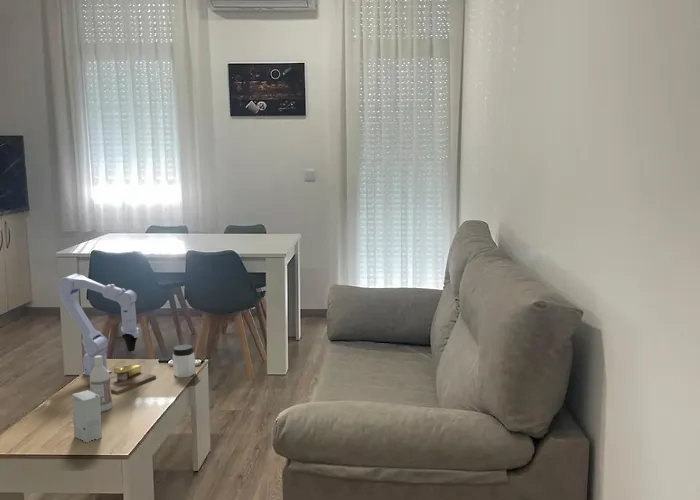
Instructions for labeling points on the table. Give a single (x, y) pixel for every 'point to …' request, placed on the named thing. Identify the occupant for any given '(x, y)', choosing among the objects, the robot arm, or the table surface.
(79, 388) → the table surface
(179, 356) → the jar
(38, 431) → the table surface
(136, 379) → the base
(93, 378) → the bath foam
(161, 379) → the table surface
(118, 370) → the door handle
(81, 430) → the skincare box
